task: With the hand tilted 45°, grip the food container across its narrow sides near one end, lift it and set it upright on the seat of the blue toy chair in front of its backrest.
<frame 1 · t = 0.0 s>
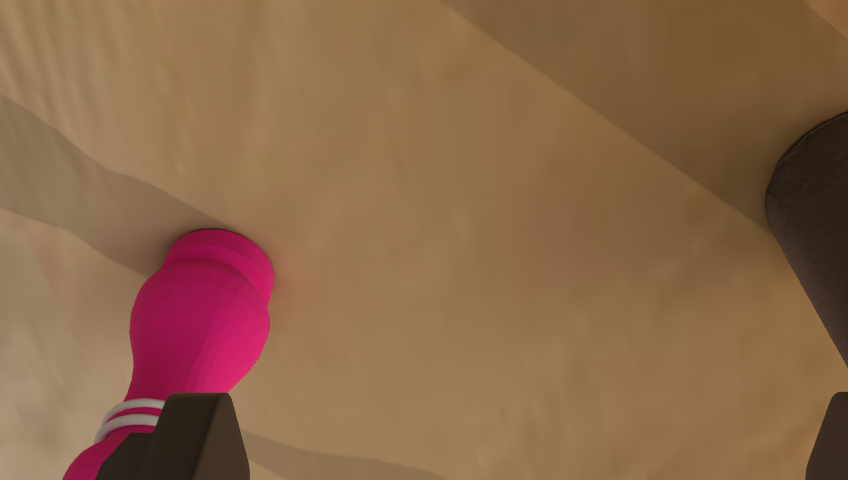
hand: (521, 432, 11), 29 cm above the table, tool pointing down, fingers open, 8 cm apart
pepper mill: (222, 269, 47), on the table
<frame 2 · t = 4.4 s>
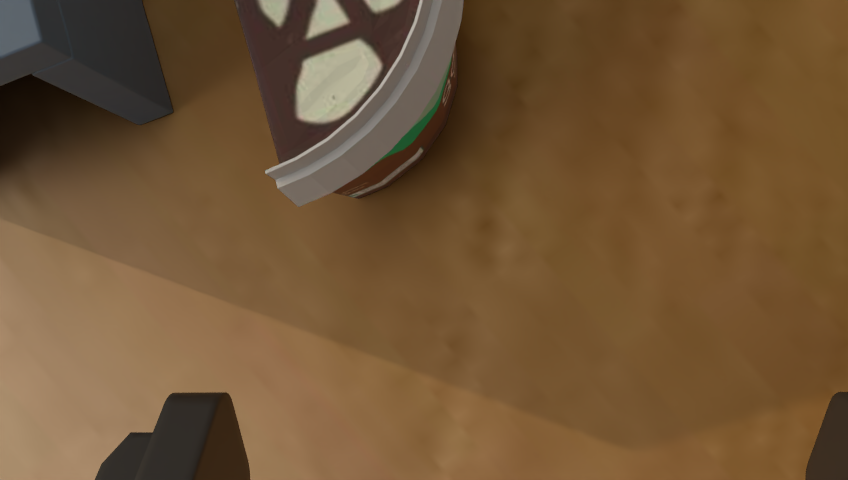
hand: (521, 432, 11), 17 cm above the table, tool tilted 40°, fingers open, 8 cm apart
food container: (404, 54, 30), on the table
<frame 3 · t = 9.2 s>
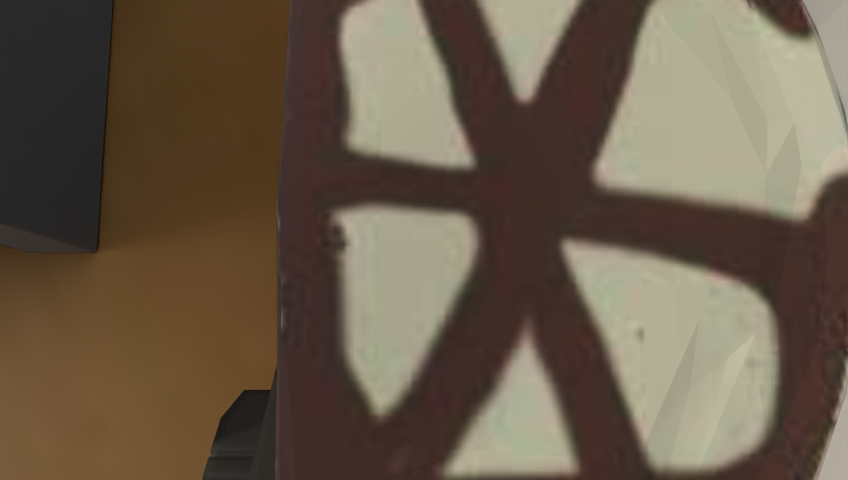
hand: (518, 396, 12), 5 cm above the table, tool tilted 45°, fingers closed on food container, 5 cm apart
food container: (526, 298, 17), on the table, touching gripper
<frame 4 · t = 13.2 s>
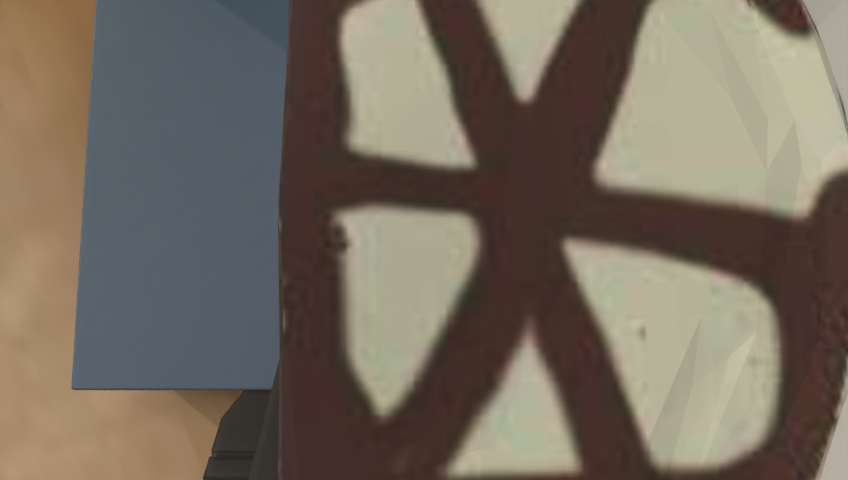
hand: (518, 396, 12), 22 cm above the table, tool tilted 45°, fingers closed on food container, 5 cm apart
blue toy chair: (285, 173, 35), on the table
food container: (526, 298, 17), point 17 cm above the table, touching gripper
when the fingers open (13 cm above the table, at t = 17.6 s): food container stays where it is, resting on blue toy chair.
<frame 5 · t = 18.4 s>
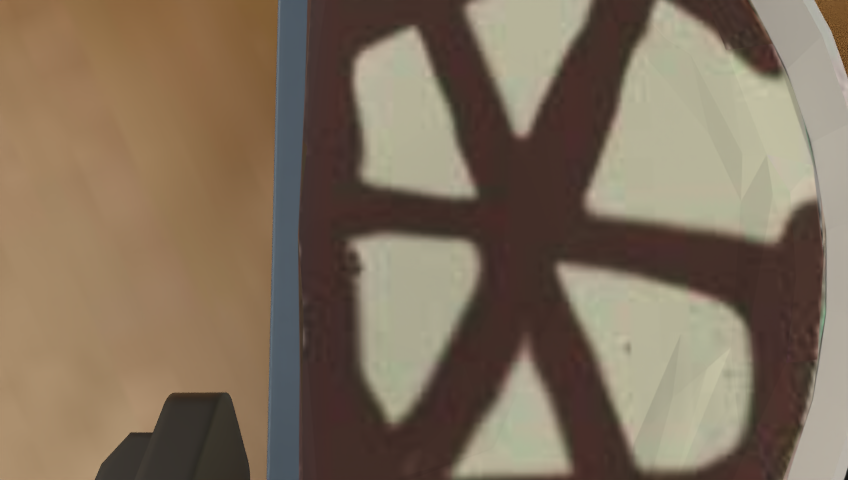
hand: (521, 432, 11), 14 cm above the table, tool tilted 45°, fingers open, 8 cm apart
blue toy chair: (490, 292, 25), on the table
food container: (525, 305, 18), point 8 cm above the table, touching blue toy chair
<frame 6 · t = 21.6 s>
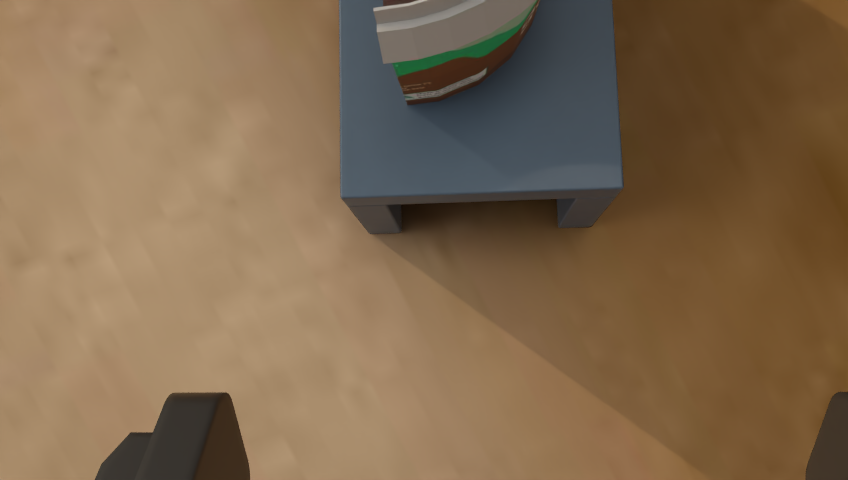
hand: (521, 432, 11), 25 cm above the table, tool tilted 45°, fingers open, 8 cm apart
blue toy chair: (473, 40, 38), on the table
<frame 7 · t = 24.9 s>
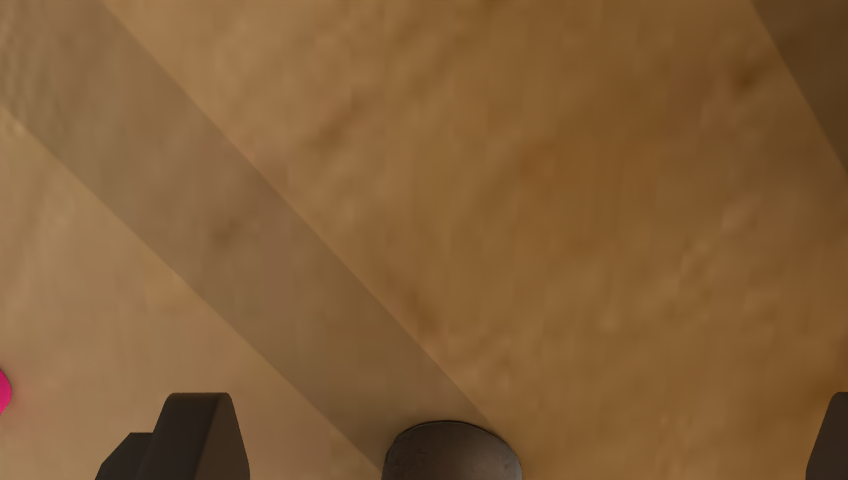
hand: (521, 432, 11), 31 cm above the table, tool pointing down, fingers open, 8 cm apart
pillar candle: (454, 467, 57), on the table
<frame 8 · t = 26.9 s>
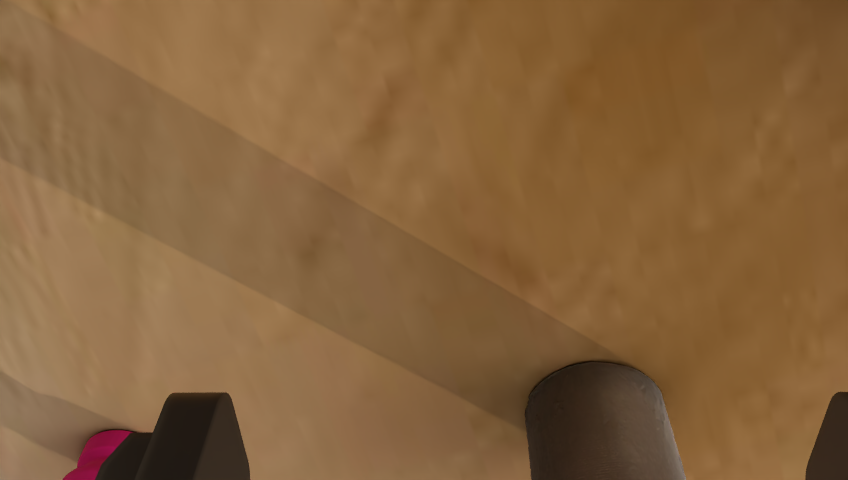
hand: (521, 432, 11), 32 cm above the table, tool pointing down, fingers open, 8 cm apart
pepper mill: (127, 453, 62), on the table
pillar candle: (594, 407, 57), on the table
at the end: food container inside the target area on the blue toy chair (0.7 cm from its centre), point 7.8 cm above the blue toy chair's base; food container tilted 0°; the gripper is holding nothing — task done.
